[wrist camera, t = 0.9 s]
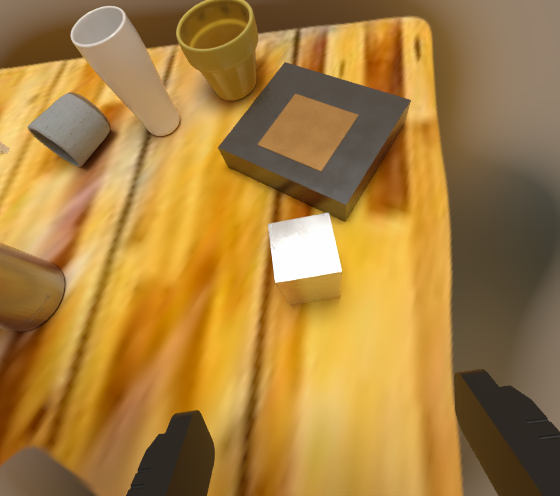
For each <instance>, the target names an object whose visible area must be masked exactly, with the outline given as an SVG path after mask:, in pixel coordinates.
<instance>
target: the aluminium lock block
mask: <svg viewBox="0 0 560 496" xmlns="http://www.w3.org/2000/svg"><path fill="white" fill-rule="evenodd" d="M268 228H269V236H270V244H271V252H272V260H273V268H274V276H275V283H276V284H277V286H278V287H279V289H280V290H281V292H282V293H283V295H284V296H285V298H286V299H287V301H288V303H289V304H290V306H292V305H298V304H304V303H310V302H316V301H322V300H328V299H334V298H340V292H341V274H342V271H341V266H340V261H339V257H338V252H337V248H336V243H335V238H334V234H333V229H332V224H331V220H330V215H329V213H323V214H318V215H313V216H308V217H303V218H297V219H292V220H287V221H282V222H277V223H271V224H268Z"/></svg>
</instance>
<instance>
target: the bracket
mask: <svg viewBox="0 0 560 496" xmlns="http://www.w3.org/2000/svg"><path fill="white" fill-rule="evenodd" d="M8 151H9V148H8V147H7V146H6V145H4V144H3V143H1V142H0V153H5V154H6V153H8Z"/></svg>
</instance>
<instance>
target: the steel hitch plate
mask: <svg viewBox="0 0 560 496" xmlns="http://www.w3.org/2000/svg"><path fill="white" fill-rule="evenodd" d="M410 102H411V100H409V99H405V98H402V97H399V96H395V95H392V94H389V93H385V92H382V91H379V90H375V89H372V88H369V87H365V86H362V85H359V84H355V83H352V82H349V81H345V80H342V79H339V78H335V77H332V76H329V75H326V74H322V73H319V72H316V71H312V70H309V69H306V68H302V67H299V66H296V65H292V64H289V63H286V62H285V63H284V64H283V65H282V67H281V68H280V69H279V70H278V72H277V73H276V74H275V76H274V77H273V78H272V79H271V81H270V82H269V83H268V84H267V86H266V87H265V88H264V90H263V91H262V92H261V93H260V95H259V96H258V97H257V99H256V100H255V101H254V102H253V104H252V105H251V106H250V107H249V109H248V110H247V111H246V113H245V114H244V115H243V116H242V118H241V119H240V120H239V122H238V123H237V124H236V125H235V127H234V128H233V129H232V130H231V132H230V133H229V134H228V136H227V137H226V138H225V139H224V141H223V142H222V143H221V144H220V146H219V147H218V149H219V150H220V152H221V154H222V156H223V158H224V160H225V162H226V164H227V166H228V167H229V168H232V169H234V170H236V171H238V172H240V173H242V174H244V175H247V176H249V177H251V178H253V179H255V180H257V181H259V182H262V183H264V184H266V185H268V186H270V187H272V188H274V189H277V190H279V191H281V192H283V193H285V194H287V195H289V196H291V197H294V198H296V199H298V200H300V201H302V202H304V203H306V204H309V205H311V206H313V207H315V208H317V209H319V210H321V211H324V212H326V213H329V214H330V215H332V216H334V217H336V218H339V219H341V220H343V221H346V219H347V218H348V216H349V215H350V213H351V211H352V210H353V208H354V206H355V205H356V203H357V201H358V200H359V198H360V196H361V195H362V193H363V192H364V190H365V188H366V187H367V185H368V183H369V182H370V180H371V178H372V177H373V175H374V174H375V172H376V170H377V169H378V167H379V165H380V164H381V162H382V160H383V159H384V157H385V155H386V154H387V152H388V151H389V149H390V147H391V146H392V144H393V142H394V141H395V139H396V137H397V136H398V134H399V132H400V131H401V129H402V128H403V126H404V124H405V120H406V116H407V113H408V109H409V105H410Z"/></svg>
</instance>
